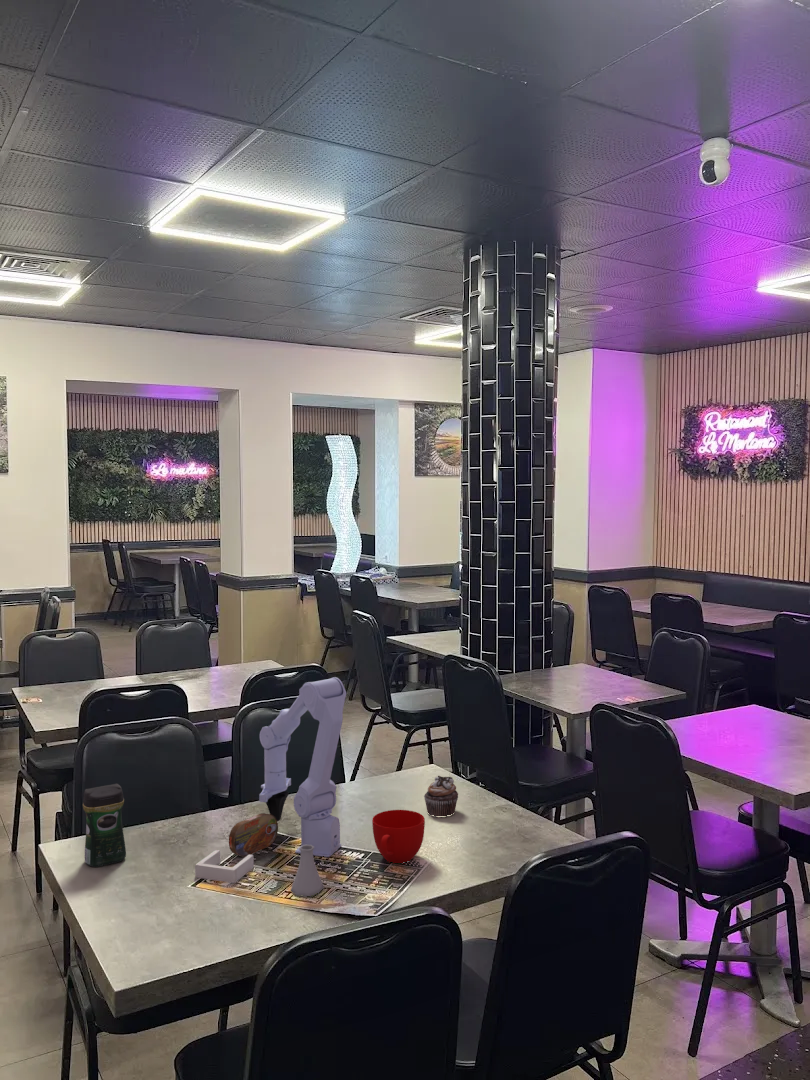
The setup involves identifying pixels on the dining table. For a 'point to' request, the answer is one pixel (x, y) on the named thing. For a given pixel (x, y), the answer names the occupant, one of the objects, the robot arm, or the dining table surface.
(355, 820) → the dining table surface
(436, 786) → the cupcake
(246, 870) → the endcap
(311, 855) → the flask
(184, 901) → the dining table surface
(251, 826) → the tin
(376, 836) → the ceramic cup
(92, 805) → the coffee jar
